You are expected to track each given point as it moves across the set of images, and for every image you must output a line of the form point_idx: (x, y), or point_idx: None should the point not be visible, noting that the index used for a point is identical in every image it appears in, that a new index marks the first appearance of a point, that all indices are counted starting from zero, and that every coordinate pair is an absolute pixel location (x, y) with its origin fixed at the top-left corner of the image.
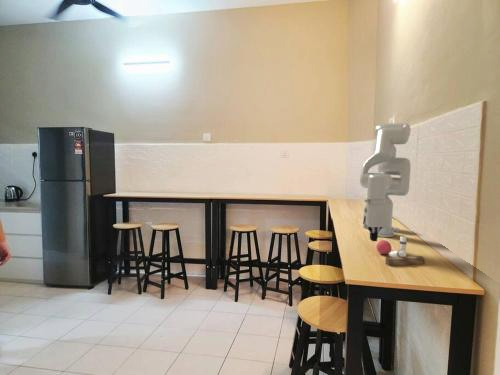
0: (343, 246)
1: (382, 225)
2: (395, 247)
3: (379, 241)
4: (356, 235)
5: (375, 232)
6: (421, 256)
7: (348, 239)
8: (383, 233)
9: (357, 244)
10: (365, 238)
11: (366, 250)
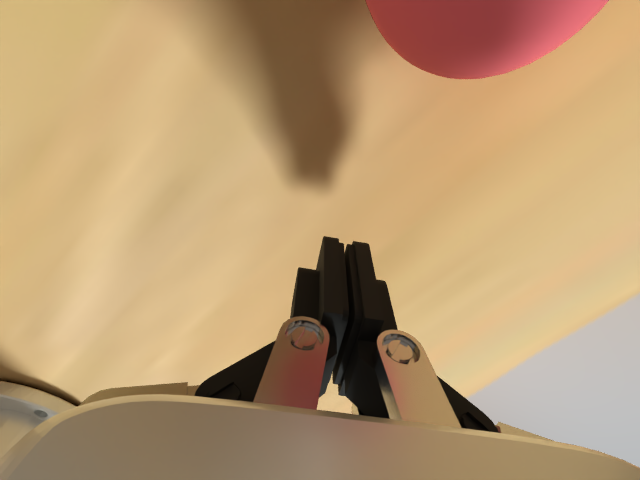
0: (565, 325)
1: (229, 428)
2: (90, 156)
3: (561, 22)
4: None
5: (335, 340)
6: None
7: None
8: (22, 423)
9: None
10: None
11: (497, 171)
